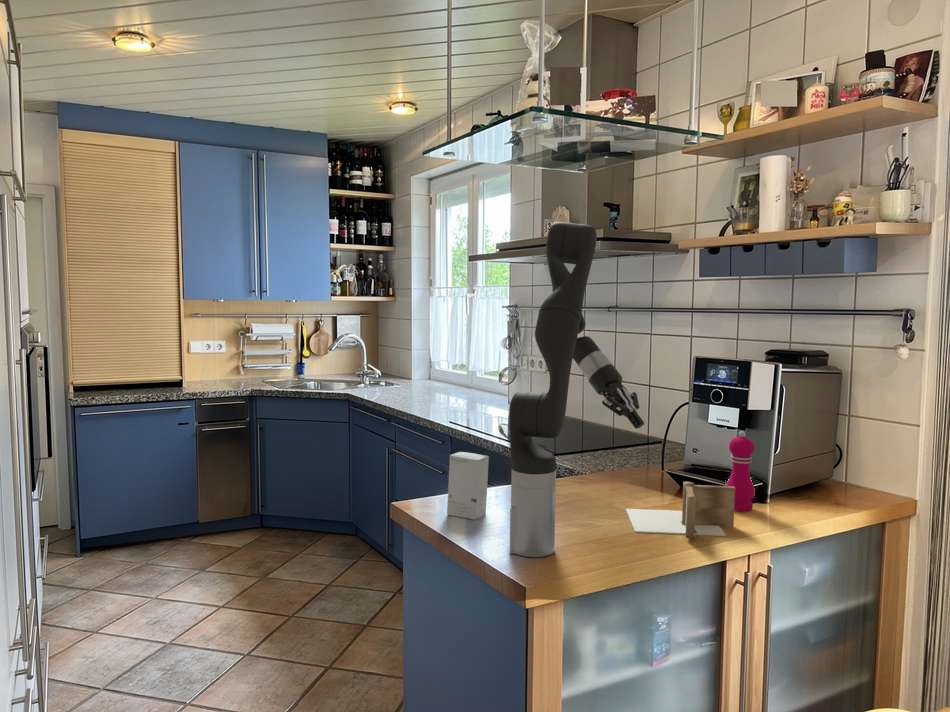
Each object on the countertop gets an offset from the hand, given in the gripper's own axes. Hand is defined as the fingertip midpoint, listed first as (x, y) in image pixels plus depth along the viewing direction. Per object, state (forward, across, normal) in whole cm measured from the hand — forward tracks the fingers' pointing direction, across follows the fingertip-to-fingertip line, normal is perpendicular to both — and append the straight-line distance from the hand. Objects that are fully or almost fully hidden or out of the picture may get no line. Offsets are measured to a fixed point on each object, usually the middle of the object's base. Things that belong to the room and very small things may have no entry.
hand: (640, 426), depth 166 cm
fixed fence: (+27, +4, +4) cm, 27 cm away
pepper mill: (+26, +23, +5) cm, 35 cm away
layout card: (+22, 0, +9) cm, 24 cm away
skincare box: (-4, -32, +35) cm, 48 cm away
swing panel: (+26, -5, +3) cm, 27 cm away
